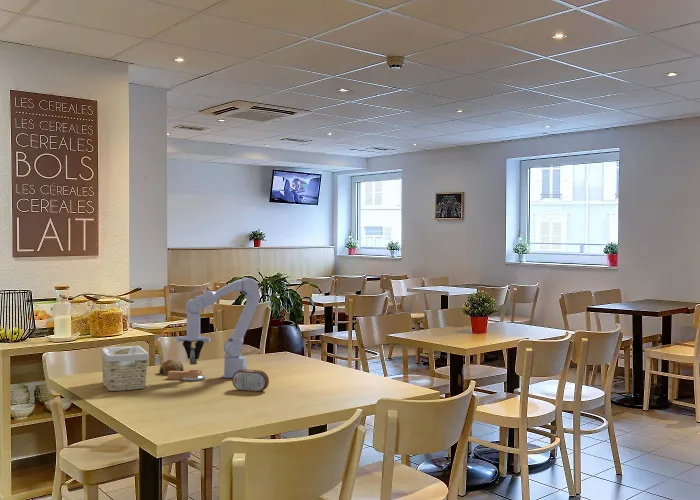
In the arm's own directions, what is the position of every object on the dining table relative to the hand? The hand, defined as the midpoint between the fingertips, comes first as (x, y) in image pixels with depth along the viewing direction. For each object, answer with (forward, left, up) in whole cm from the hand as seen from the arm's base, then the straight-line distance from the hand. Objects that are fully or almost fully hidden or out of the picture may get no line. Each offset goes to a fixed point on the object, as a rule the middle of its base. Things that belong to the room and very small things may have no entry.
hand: (193, 358), depth 285 cm
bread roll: (+14, -12, -9) cm, 21 cm away
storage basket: (+23, +17, -9) cm, 30 cm away
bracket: (+4, 0, -9) cm, 10 cm away
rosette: (0, 0, -9) cm, 9 cm away
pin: (0, 0, -2) cm, 2 cm away
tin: (-30, +19, -9) cm, 37 cm away
